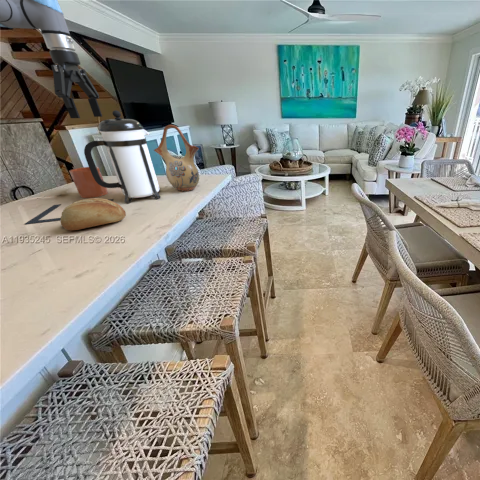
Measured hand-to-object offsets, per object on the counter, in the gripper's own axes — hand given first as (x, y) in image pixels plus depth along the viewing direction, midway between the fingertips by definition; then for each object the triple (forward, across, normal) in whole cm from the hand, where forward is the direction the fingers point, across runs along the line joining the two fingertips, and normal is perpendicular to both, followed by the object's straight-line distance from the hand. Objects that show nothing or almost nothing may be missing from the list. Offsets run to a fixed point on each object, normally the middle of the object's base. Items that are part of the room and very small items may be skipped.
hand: (87, 117), depth 103 cm
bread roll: (+28, -45, -19) cm, 56 cm away
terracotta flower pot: (+27, -12, +1) cm, 30 cm away
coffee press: (+28, -19, -19) cm, 39 cm away
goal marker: (+27, -29, -3) cm, 40 cm away
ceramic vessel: (+28, -11, -34) cm, 45 cm away
